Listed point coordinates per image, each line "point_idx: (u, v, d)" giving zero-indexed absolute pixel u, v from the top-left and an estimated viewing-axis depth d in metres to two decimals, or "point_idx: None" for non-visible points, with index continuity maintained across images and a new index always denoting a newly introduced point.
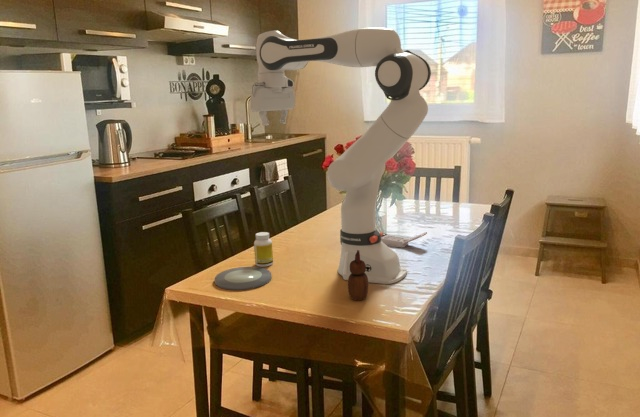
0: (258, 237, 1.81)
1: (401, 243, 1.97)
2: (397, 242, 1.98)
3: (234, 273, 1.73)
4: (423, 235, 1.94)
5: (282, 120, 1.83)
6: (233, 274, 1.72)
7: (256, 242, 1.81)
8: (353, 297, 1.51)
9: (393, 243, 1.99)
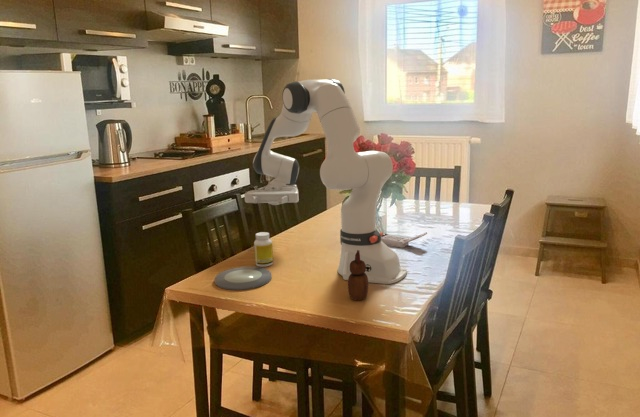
0: (258, 237, 1.81)
1: (401, 243, 1.97)
2: (397, 242, 1.98)
3: (234, 273, 1.73)
4: (423, 235, 1.93)
5: None
6: (233, 274, 1.72)
7: (256, 242, 1.81)
8: (353, 297, 1.51)
9: (393, 243, 1.99)
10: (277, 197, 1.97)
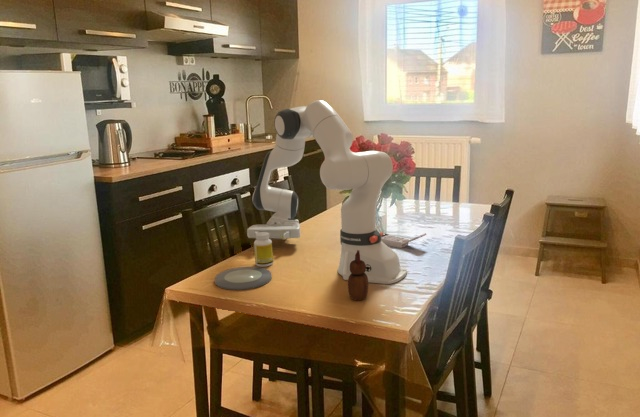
0: (258, 237, 1.81)
1: (400, 243, 1.97)
2: (396, 242, 1.98)
3: (234, 273, 1.73)
4: (421, 236, 1.92)
5: None
6: (233, 274, 1.72)
7: (256, 242, 1.81)
8: (353, 297, 1.51)
9: (392, 243, 1.99)
10: (279, 232, 2.00)
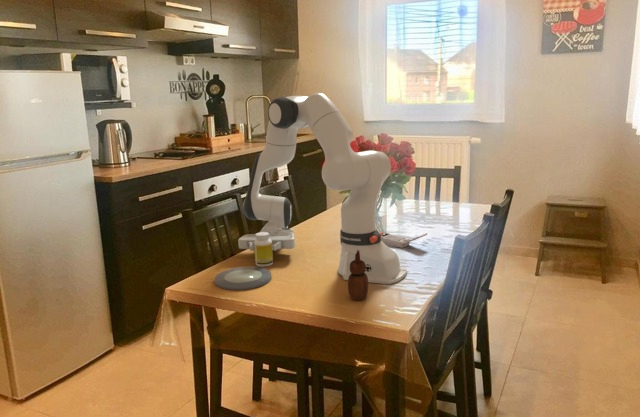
0: (258, 237, 1.81)
1: (401, 243, 1.97)
2: (397, 242, 1.98)
3: (234, 273, 1.73)
4: (422, 236, 1.92)
5: None
6: (233, 274, 1.72)
7: (256, 242, 1.81)
8: (353, 297, 1.51)
9: (393, 243, 1.99)
10: (272, 243, 1.88)
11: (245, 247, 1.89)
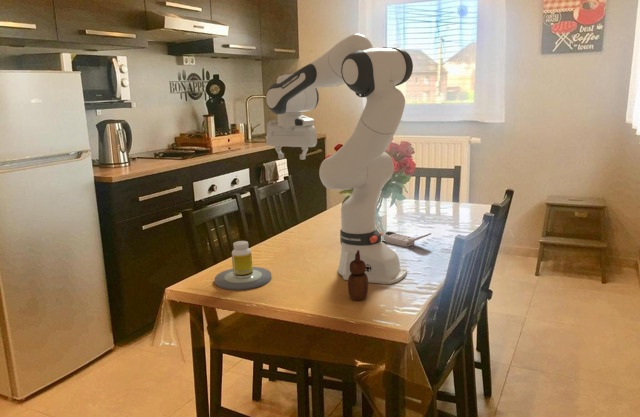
0: (236, 246, 1.67)
1: (405, 242, 1.98)
2: (401, 241, 1.99)
3: None
4: (425, 235, 1.93)
5: None
6: None
7: (234, 252, 1.67)
8: (353, 297, 1.51)
9: (398, 242, 2.00)
10: None
11: None
